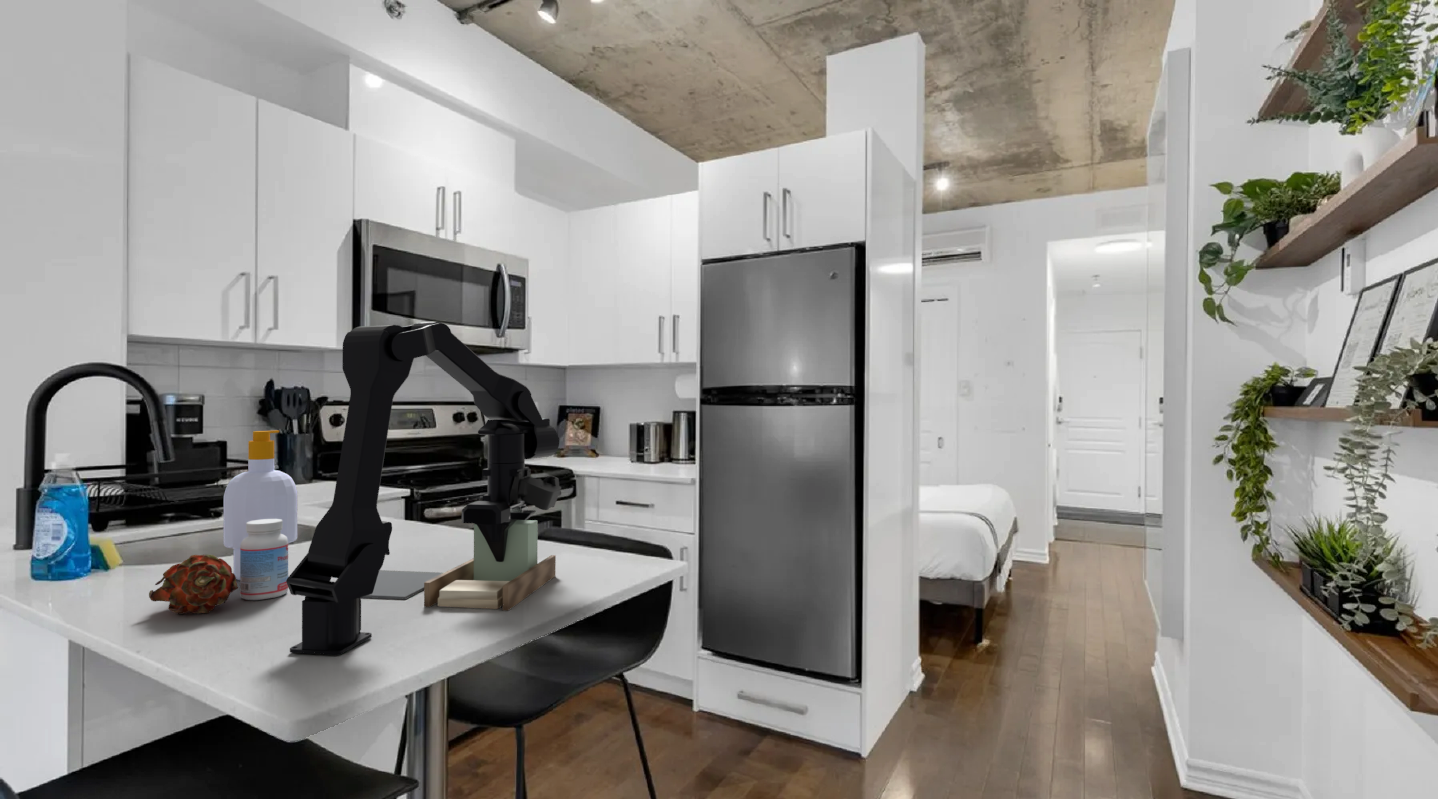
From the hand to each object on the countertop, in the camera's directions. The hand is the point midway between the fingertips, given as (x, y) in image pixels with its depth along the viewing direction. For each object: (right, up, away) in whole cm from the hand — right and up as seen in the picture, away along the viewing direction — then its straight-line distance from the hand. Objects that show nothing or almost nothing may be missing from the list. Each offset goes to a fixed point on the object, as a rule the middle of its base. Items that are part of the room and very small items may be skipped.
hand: (505, 558), depth 113 cm
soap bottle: (-42, -4, +4) cm, 42 cm away
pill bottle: (-34, -4, -7) cm, 35 cm away
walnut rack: (0, -4, -4) cm, 6 cm away
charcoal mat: (-18, -4, -1) cm, 19 cm away
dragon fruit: (-39, -4, -15) cm, 42 cm away
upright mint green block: (0, -4, 0) cm, 4 cm away
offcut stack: (-1, -4, -10) cm, 11 cm away
